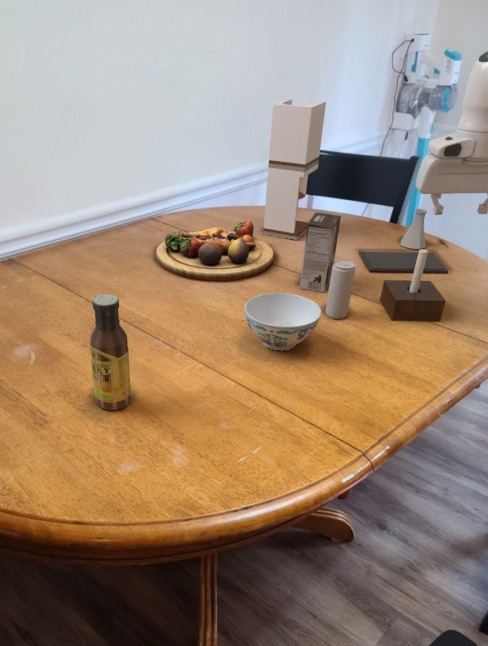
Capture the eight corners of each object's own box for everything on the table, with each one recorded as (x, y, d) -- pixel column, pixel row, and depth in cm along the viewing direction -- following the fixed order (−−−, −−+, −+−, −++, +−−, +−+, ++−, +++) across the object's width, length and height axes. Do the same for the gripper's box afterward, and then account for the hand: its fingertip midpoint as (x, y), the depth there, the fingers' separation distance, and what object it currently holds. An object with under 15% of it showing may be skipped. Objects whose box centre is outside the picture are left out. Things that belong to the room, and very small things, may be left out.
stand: (425, 300, 132) (430, 280, 129) (440, 321, 124) (446, 300, 121) (379, 299, 133) (384, 279, 130) (391, 320, 124) (396, 299, 121)
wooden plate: (229, 231, 172) (231, 203, 167) (298, 265, 149) (301, 235, 145) (135, 251, 158) (134, 221, 153) (195, 292, 136) (195, 259, 131)
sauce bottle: (89, 400, 99) (76, 296, 88) (118, 387, 102) (110, 285, 91) (108, 417, 95) (97, 310, 84) (139, 403, 98) (132, 299, 87)
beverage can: (340, 322, 123) (349, 270, 116) (320, 315, 126) (328, 264, 119) (351, 314, 126) (360, 263, 119) (332, 308, 129) (340, 257, 122)
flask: (396, 246, 161) (404, 211, 155) (404, 239, 166) (412, 204, 160) (421, 251, 158) (430, 215, 152) (429, 244, 163) (438, 209, 157)
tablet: (431, 255, 156) (432, 251, 155) (447, 273, 145) (448, 270, 145) (358, 254, 156) (359, 251, 156) (369, 272, 146) (370, 269, 145)
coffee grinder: (296, 240, 165) (311, 107, 145) (263, 234, 169) (273, 104, 149) (310, 229, 173) (326, 101, 153) (277, 224, 177) (289, 98, 157)
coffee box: (306, 275, 144) (315, 211, 135) (332, 279, 142) (342, 214, 133) (298, 288, 138) (306, 223, 128) (324, 293, 136) (335, 226, 126)
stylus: (411, 308, 129) (426, 249, 121) (413, 312, 127) (429, 252, 119) (403, 308, 129) (418, 249, 121) (405, 312, 127) (420, 252, 119)
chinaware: (330, 342, 116) (336, 308, 111) (286, 370, 107) (290, 334, 103) (272, 319, 125) (275, 286, 120) (227, 343, 116) (229, 308, 111)
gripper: (523, 139, 115) (502, 208, 123) (421, 141, 116) (407, 209, 124) (537, 146, 110) (515, 217, 118) (431, 148, 110) (416, 219, 118)
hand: (459, 213), depth 121 cm, fingers open, 8 cm apart
